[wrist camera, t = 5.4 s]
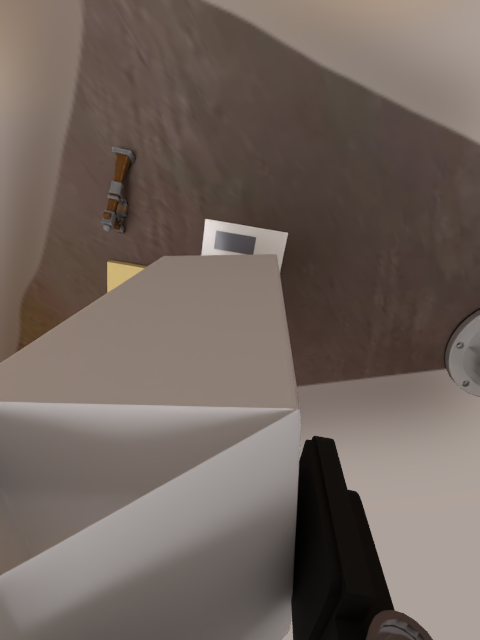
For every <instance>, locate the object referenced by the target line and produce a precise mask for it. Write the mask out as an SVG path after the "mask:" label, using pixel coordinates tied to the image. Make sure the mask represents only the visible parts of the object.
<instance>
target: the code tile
mask: <svg viewBox="0 0 480 640" xmlns="http://www.w3.org/2000/svg"><path fill="white" fill-rule="evenodd" d="M287 236H288V233H286V232H280V231H274V230H268V229H262V228H257V227H251V226H245V225H239V224H233V223H227V222H221V221H216V220H210V219H205V228H204V237H203V246H202V255H261V254H276V255H277V259H278V265H279V272H280V269H281V265H282V260H283V255H284V251H285V246H286V241H287ZM202 255H201V256H202Z"/></svg>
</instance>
